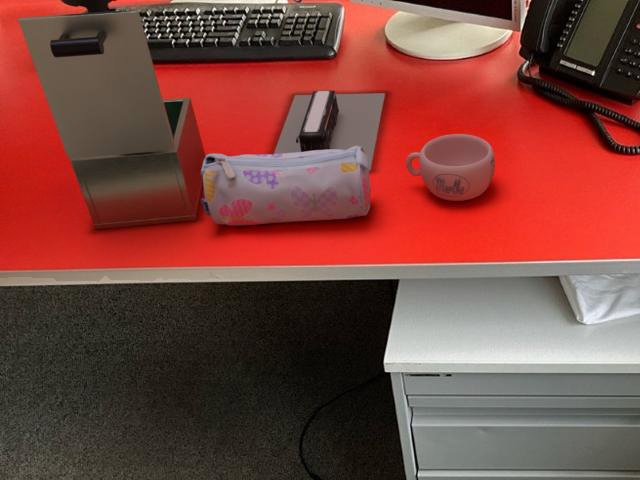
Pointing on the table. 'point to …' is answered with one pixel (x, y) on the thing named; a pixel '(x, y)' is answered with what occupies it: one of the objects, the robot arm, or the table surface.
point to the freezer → (147, 178)
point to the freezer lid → (99, 82)
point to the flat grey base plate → (332, 123)
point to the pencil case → (286, 186)
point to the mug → (455, 166)
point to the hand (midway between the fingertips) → (124, 94)
